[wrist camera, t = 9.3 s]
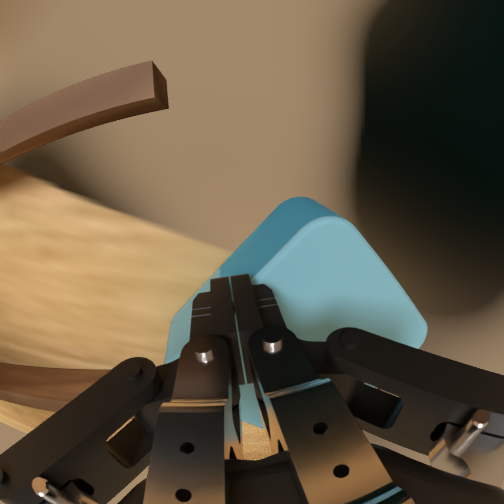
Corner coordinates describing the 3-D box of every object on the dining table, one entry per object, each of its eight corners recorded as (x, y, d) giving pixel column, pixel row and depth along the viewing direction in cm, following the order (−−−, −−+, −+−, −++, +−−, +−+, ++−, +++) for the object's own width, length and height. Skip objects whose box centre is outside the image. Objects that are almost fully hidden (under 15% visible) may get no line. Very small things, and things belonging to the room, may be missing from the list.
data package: (160, 328, 16) (286, 397, 21) (150, 381, 12) (299, 441, 16) (298, 182, 14) (400, 300, 18) (332, 199, 10) (434, 334, 14)
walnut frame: (-78, 196, 9) (-101, 207, 6) (166, 79, 11) (152, 60, 8) (-10, 371, 16) (-23, 392, 13) (218, 377, 19) (221, 415, 15)
